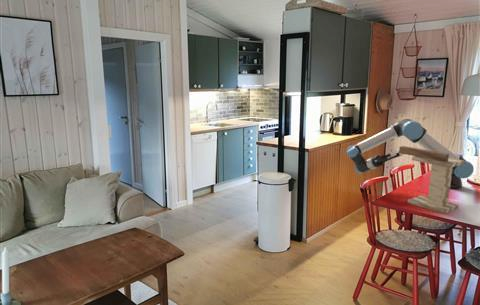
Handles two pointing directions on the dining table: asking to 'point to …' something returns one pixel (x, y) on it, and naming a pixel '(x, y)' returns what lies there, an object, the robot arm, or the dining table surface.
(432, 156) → the brown block
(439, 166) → the shelf stand
